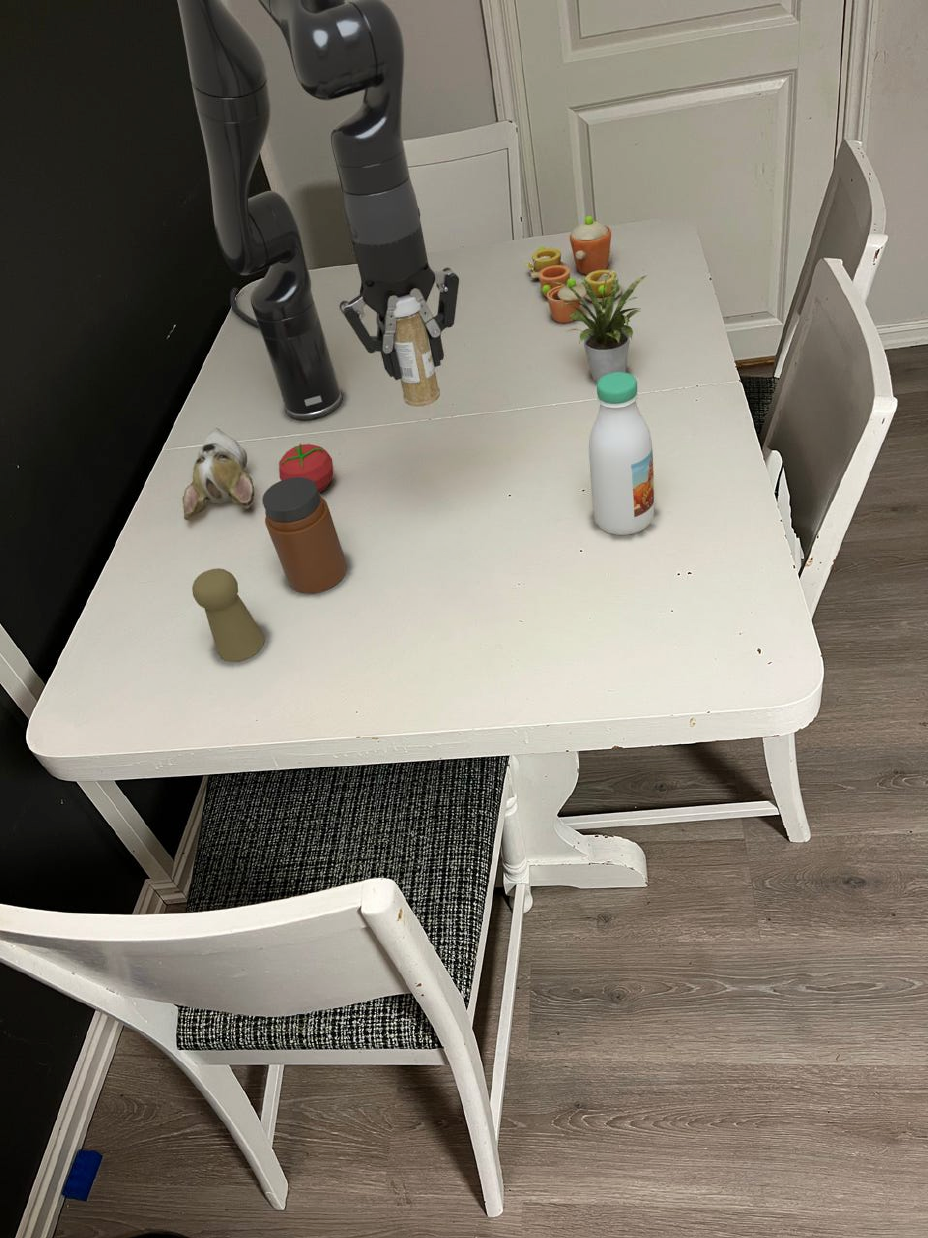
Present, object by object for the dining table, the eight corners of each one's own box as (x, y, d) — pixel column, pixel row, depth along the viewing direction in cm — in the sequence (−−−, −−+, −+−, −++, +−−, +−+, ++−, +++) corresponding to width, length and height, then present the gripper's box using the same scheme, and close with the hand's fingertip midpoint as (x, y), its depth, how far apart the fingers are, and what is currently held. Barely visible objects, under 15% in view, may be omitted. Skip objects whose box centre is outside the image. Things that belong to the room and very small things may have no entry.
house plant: (542, 397, 146) (530, 297, 135) (569, 351, 155) (560, 254, 143) (633, 403, 141) (629, 300, 129) (656, 355, 149) (653, 255, 138)
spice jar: (447, 396, 113) (428, 290, 104) (416, 412, 112) (392, 305, 102) (427, 383, 116) (406, 278, 107) (396, 398, 114) (372, 293, 105)
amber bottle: (282, 566, 126) (251, 487, 118) (338, 545, 128) (312, 466, 119) (295, 601, 121) (264, 522, 112) (354, 580, 122) (328, 499, 113)
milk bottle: (616, 545, 119) (607, 407, 105) (582, 514, 124) (570, 380, 110) (666, 520, 120) (664, 381, 107) (631, 491, 126) (625, 356, 112)
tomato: (340, 498, 135) (326, 453, 130) (287, 510, 135) (271, 466, 130) (336, 467, 141) (323, 423, 136) (285, 479, 141) (270, 436, 136)
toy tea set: (525, 267, 180) (519, 216, 173) (606, 251, 179) (603, 200, 172) (545, 331, 161) (539, 277, 154) (636, 314, 160) (634, 258, 153)
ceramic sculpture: (246, 411, 140) (238, 474, 129) (265, 457, 146) (259, 521, 136) (176, 424, 140) (163, 488, 130) (198, 470, 147) (187, 534, 136)
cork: (219, 631, 119) (188, 565, 111) (266, 622, 119) (237, 556, 111) (214, 665, 115) (181, 600, 107) (263, 657, 114) (233, 590, 107)
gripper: (436, 195, 103) (460, 338, 115) (311, 233, 101) (350, 375, 113) (460, 217, 98) (483, 364, 110) (329, 257, 96) (367, 404, 107)
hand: (415, 369), depth 111 cm, fingers closed on spice jar, 4 cm apart
